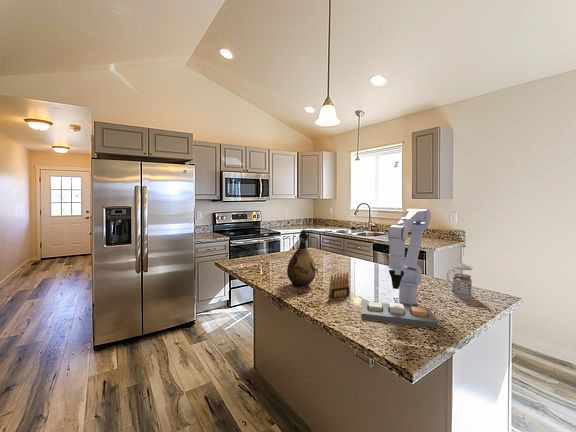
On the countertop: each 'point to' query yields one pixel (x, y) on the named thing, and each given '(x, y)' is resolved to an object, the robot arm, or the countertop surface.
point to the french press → (461, 281)
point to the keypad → (398, 316)
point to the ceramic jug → (301, 265)
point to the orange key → (418, 311)
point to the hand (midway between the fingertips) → (395, 288)
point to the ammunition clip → (339, 286)
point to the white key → (396, 308)
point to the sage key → (375, 306)
